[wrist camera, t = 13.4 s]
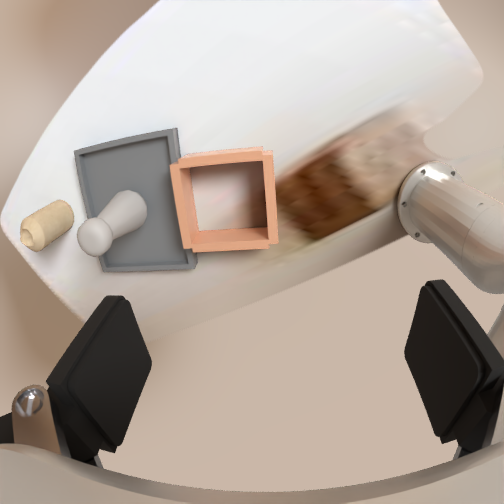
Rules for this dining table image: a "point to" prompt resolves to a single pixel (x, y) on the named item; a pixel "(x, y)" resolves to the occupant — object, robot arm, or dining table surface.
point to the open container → (227, 237)
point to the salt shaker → (112, 222)
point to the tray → (152, 190)
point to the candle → (46, 225)
